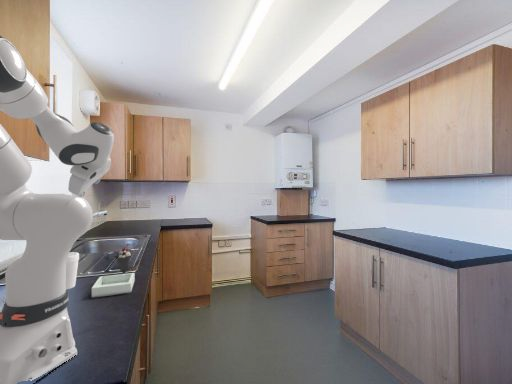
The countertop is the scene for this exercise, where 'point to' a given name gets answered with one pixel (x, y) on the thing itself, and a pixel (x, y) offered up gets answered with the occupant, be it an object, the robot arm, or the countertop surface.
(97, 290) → the bin
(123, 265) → the sundae
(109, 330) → the countertop surface
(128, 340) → the countertop surface
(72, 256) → the foam cup
